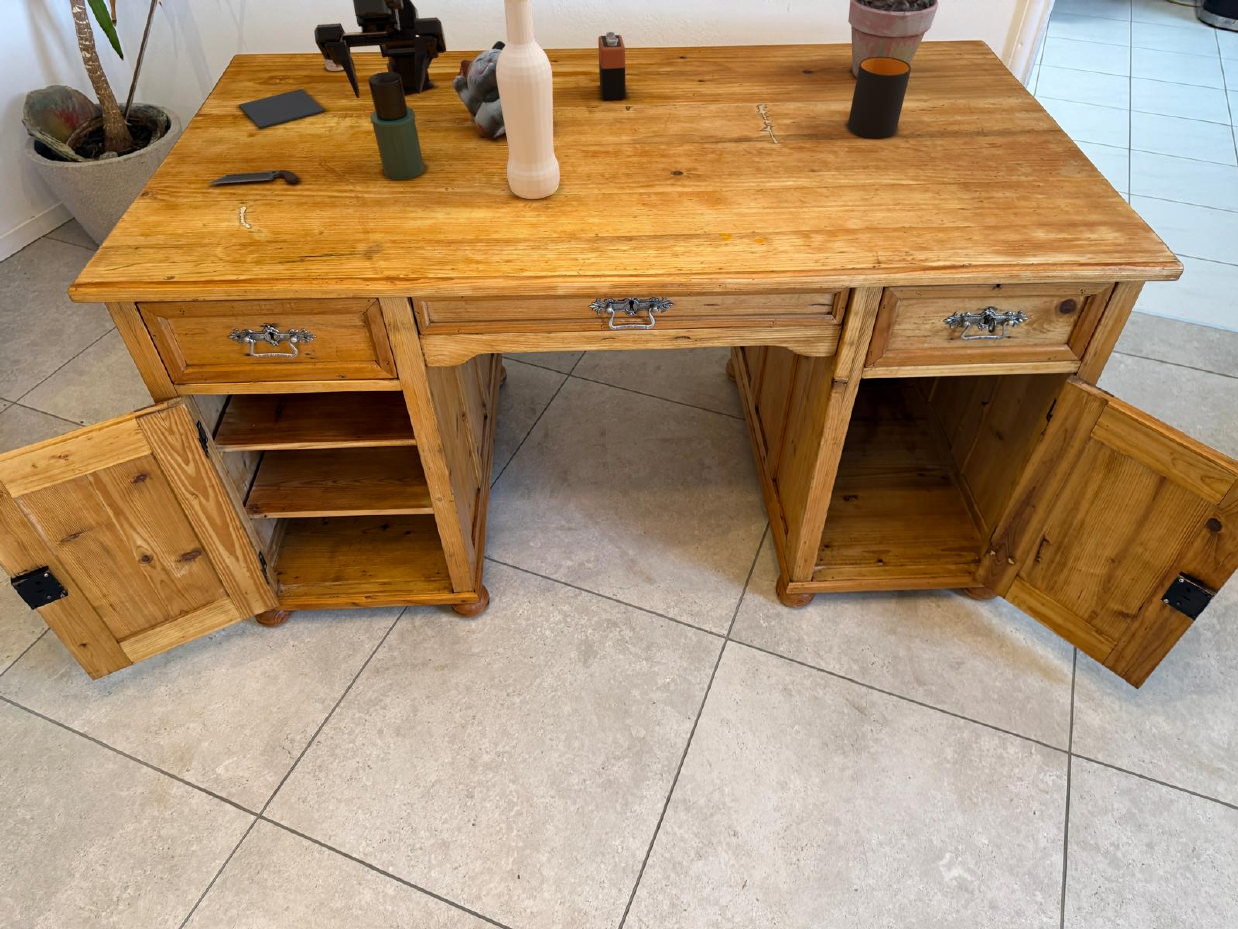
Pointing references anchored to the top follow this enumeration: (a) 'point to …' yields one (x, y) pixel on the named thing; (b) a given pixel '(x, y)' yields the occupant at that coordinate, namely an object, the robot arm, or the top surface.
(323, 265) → the top surface
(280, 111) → the mat
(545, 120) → the bottle
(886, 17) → the potted plant
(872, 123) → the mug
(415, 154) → the can
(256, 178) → the knife
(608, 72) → the battery
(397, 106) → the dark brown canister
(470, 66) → the lucky cat figurine
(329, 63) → the pill bottle
